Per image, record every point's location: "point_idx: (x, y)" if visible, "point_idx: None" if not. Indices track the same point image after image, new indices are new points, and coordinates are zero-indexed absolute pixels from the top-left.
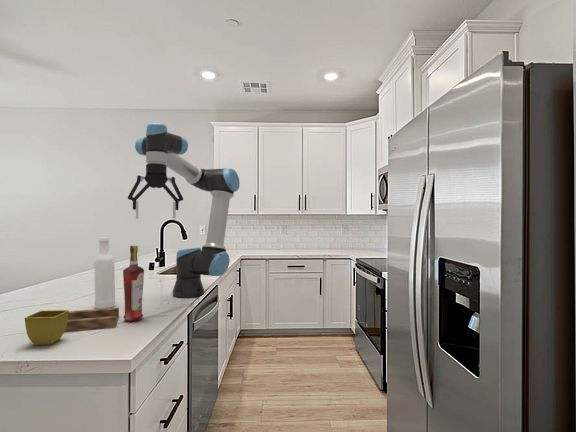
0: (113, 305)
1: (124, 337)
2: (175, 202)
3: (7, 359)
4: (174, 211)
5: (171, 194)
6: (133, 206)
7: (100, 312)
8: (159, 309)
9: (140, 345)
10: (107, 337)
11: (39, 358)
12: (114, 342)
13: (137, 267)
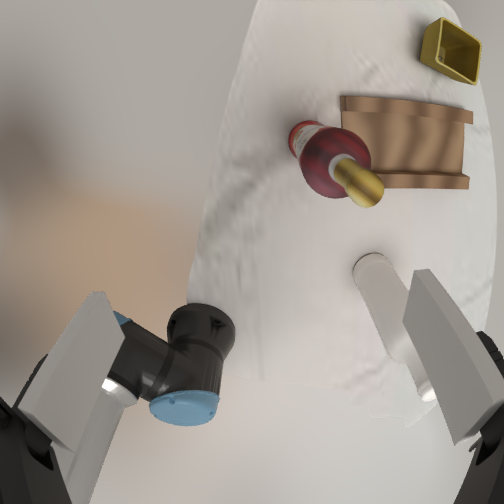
0: (356, 264)
1: (311, 24)
2: (19, 404)
3: (452, 9)
4: (68, 334)
5: (19, 500)
6: (495, 353)
7: (382, 173)
8: (256, 220)
9: None
10: (343, 36)
11: None
12: (324, 5)
13: (326, 151)
